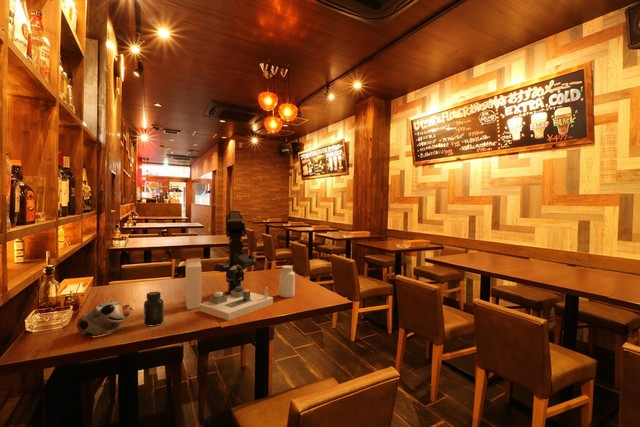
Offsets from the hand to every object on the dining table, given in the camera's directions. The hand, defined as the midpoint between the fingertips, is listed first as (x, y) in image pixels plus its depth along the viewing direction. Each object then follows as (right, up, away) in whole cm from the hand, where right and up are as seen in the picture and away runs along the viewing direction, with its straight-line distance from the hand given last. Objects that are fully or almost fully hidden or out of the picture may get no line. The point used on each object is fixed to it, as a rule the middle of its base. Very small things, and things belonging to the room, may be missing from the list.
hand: (235, 283), depth 144 cm
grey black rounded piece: (-42, -13, -24) cm, 50 cm away
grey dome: (-1, -6, +12) cm, 13 cm away
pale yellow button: (-8, -6, +2) cm, 10 cm away
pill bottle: (+21, -11, +22) cm, 32 cm away
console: (0, -12, +3) cm, 12 cm away
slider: (+4, -8, +4) cm, 10 cm away
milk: (-20, -12, +4) cm, 24 cm away
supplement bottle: (-28, -12, -16) cm, 34 cm away
